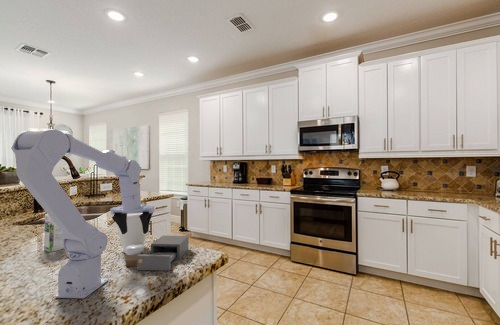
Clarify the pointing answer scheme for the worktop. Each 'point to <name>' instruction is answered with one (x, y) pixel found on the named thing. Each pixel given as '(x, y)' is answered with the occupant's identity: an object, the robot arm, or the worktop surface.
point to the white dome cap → (134, 249)
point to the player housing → (171, 245)
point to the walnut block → (131, 260)
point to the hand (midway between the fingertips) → (135, 232)
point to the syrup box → (52, 235)
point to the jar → (132, 232)
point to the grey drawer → (155, 261)
